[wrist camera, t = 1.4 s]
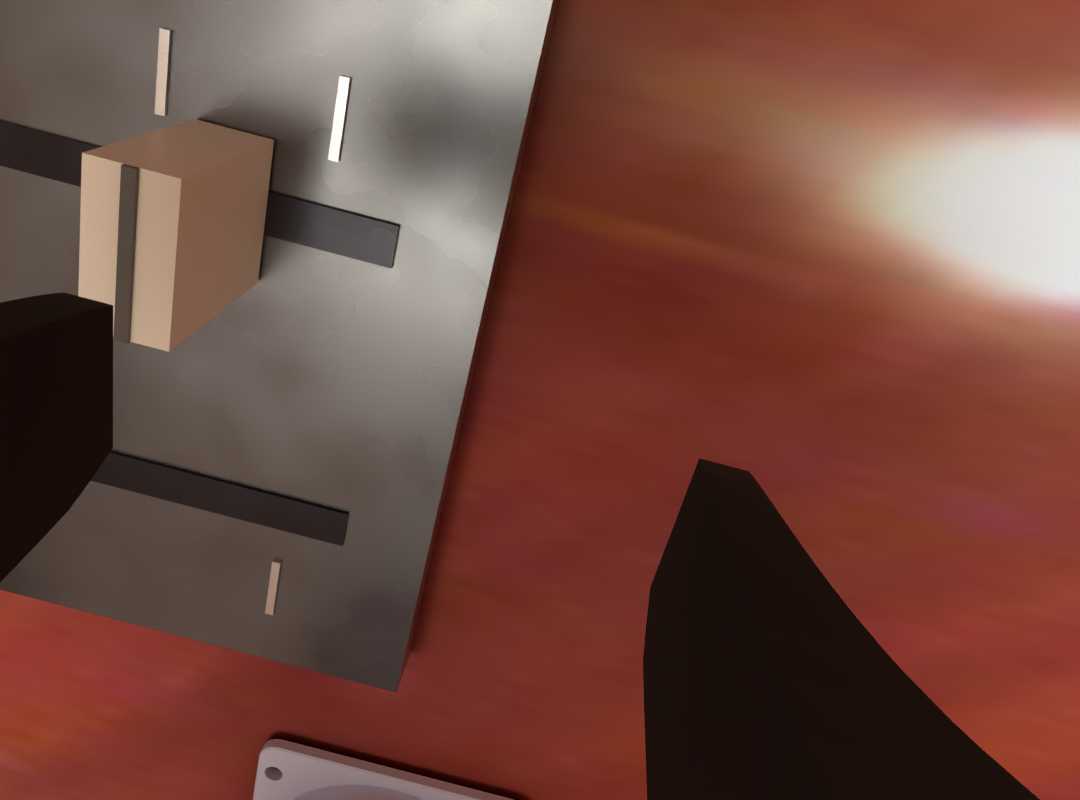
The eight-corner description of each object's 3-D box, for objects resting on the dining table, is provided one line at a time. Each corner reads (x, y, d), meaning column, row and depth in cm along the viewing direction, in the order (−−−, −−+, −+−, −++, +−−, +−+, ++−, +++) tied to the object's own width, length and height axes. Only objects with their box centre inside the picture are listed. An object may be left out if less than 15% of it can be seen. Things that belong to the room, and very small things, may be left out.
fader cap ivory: (258, 282, 19) (165, 353, 16) (183, 263, 19) (74, 329, 16) (274, 140, 18) (178, 179, 14) (194, 119, 18) (78, 154, 14)
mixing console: (409, 653, 25) (395, 695, 24) (-347, 456, 25) (-409, 486, 23) (563, -17, 18) (556, -17, 16) (-498, -299, 18) (-601, -325, 16)
